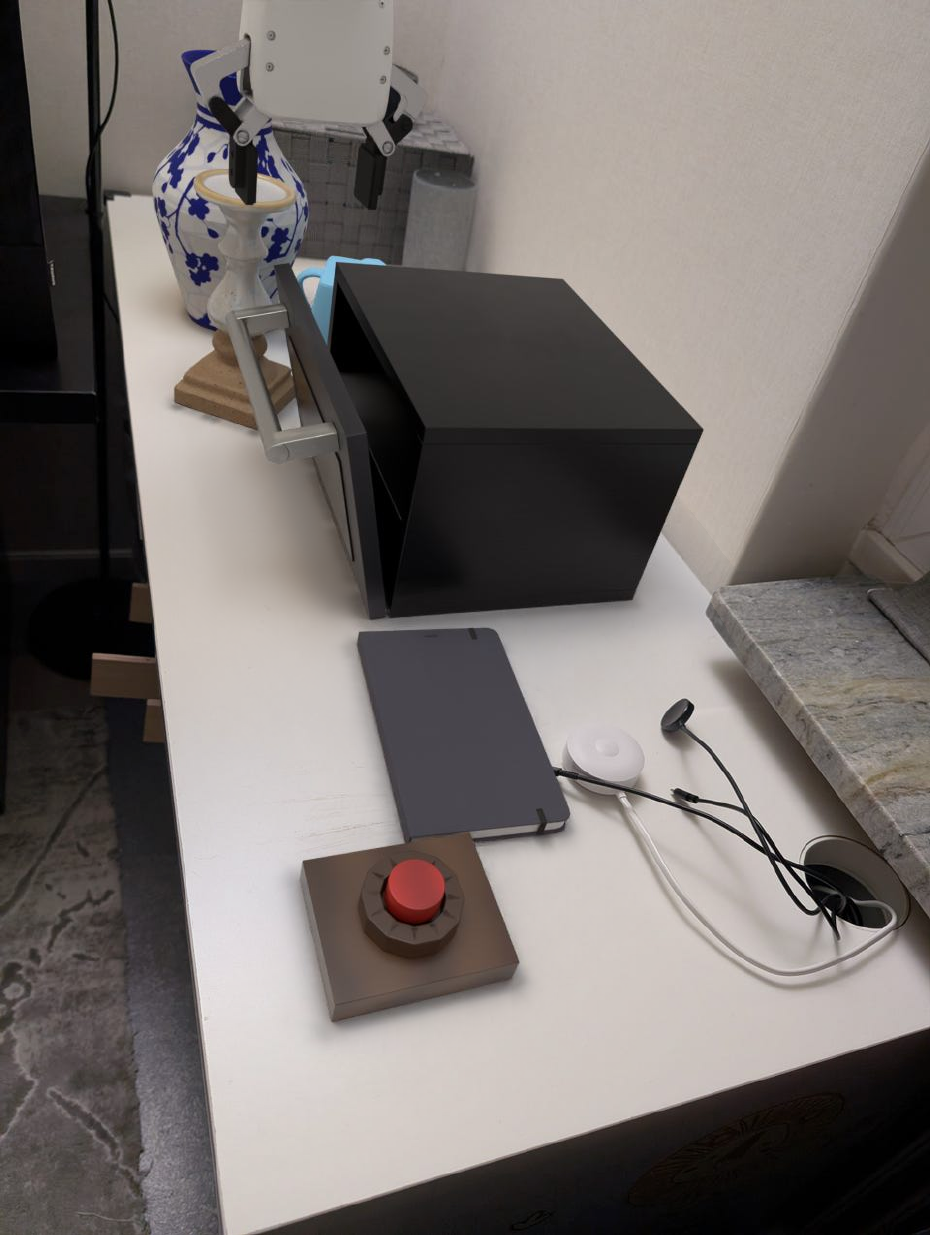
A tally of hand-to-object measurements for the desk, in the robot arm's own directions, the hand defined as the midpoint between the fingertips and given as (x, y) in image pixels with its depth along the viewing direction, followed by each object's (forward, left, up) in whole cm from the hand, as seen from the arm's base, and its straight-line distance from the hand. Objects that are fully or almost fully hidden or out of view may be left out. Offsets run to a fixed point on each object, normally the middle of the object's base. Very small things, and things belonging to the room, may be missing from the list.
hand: (306, 201), depth 69 cm
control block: (+31, -31, -31) cm, 54 cm away
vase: (-33, +35, -32) cm, 58 cm away
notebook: (+26, -14, -32) cm, 43 cm away
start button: (+31, -31, -28) cm, 52 cm away
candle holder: (-19, +18, -32) cm, 41 cm away
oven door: (+1, +4, -32) cm, 32 cm away
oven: (+13, +16, -31) cm, 38 cm away
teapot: (-12, +38, -32) cm, 51 cm away
